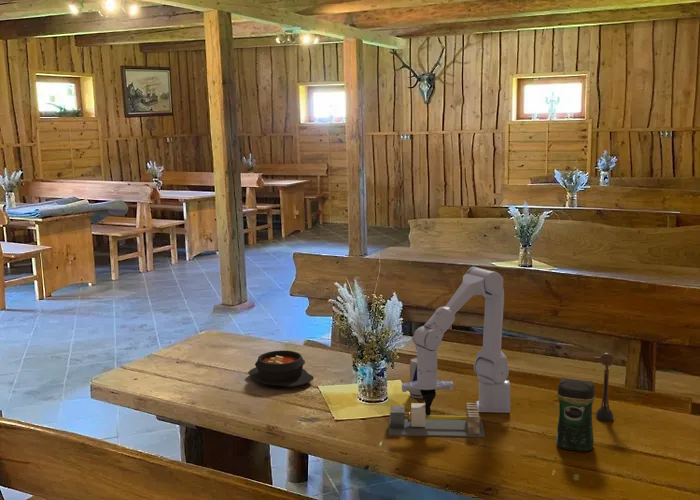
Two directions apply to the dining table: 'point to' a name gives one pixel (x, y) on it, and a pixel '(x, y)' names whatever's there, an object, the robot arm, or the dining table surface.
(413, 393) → the energy drink
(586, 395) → the coffee jar
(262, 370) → the casserole
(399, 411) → the block
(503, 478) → the dining table surface
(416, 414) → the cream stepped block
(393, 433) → the cable mat
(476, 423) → the cable comb
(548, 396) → the dining table surface
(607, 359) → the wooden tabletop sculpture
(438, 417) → the yellow rod
